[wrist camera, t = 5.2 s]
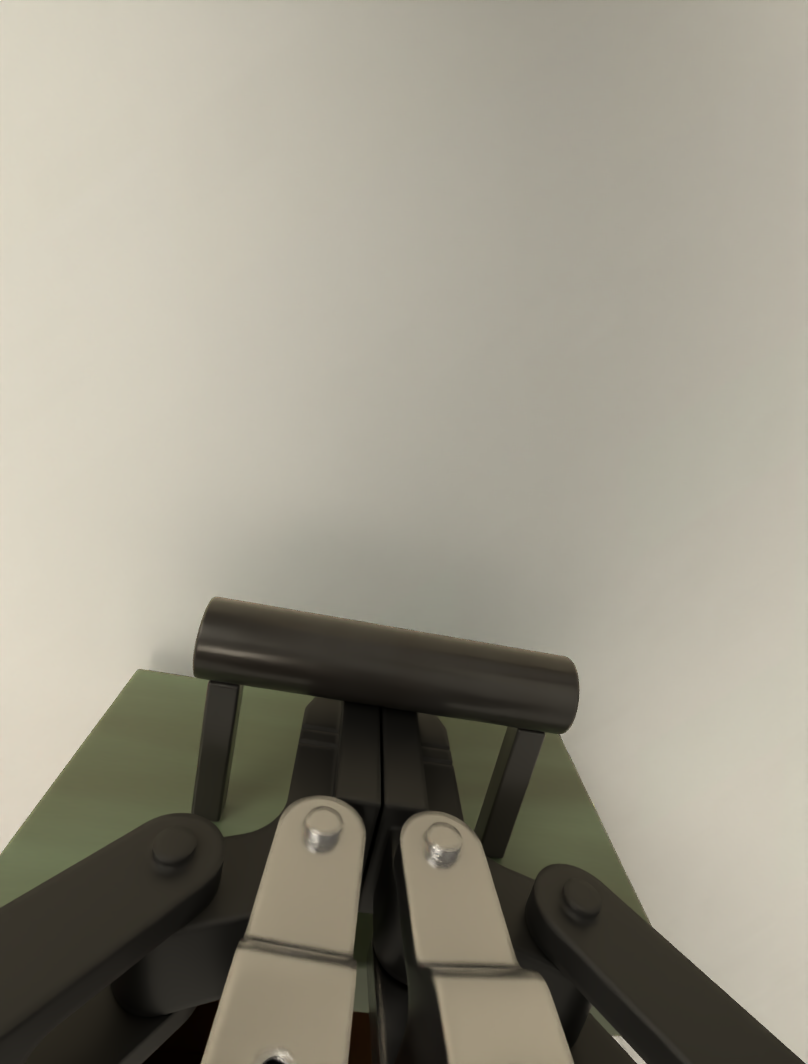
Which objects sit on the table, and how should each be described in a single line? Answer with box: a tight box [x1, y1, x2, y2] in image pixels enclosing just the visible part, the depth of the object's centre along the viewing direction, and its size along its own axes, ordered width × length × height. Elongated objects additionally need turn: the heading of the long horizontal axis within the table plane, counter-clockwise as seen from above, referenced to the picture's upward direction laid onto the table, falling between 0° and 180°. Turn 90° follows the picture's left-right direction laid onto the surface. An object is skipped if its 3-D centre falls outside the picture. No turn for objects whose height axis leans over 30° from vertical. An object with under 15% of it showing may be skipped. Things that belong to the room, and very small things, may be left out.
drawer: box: [0, 597, 651, 1064], centre depth 14 cm, size 19×12×7 cm, turn 168°
